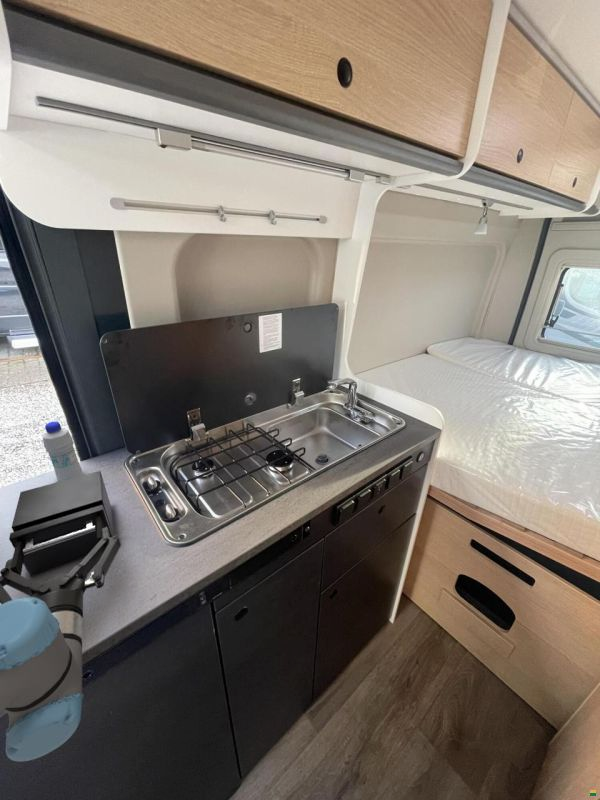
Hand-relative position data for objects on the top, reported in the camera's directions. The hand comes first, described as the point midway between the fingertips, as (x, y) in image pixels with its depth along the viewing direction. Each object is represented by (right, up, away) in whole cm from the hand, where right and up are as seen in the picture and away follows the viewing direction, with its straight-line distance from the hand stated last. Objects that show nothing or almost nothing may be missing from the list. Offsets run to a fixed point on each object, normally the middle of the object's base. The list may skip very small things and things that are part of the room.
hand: (62, 533), depth 68 cm
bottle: (-19, +3, +30) cm, 36 cm away
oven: (-5, -6, +11) cm, 14 cm away
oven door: (0, -9, +5) cm, 10 cm away
